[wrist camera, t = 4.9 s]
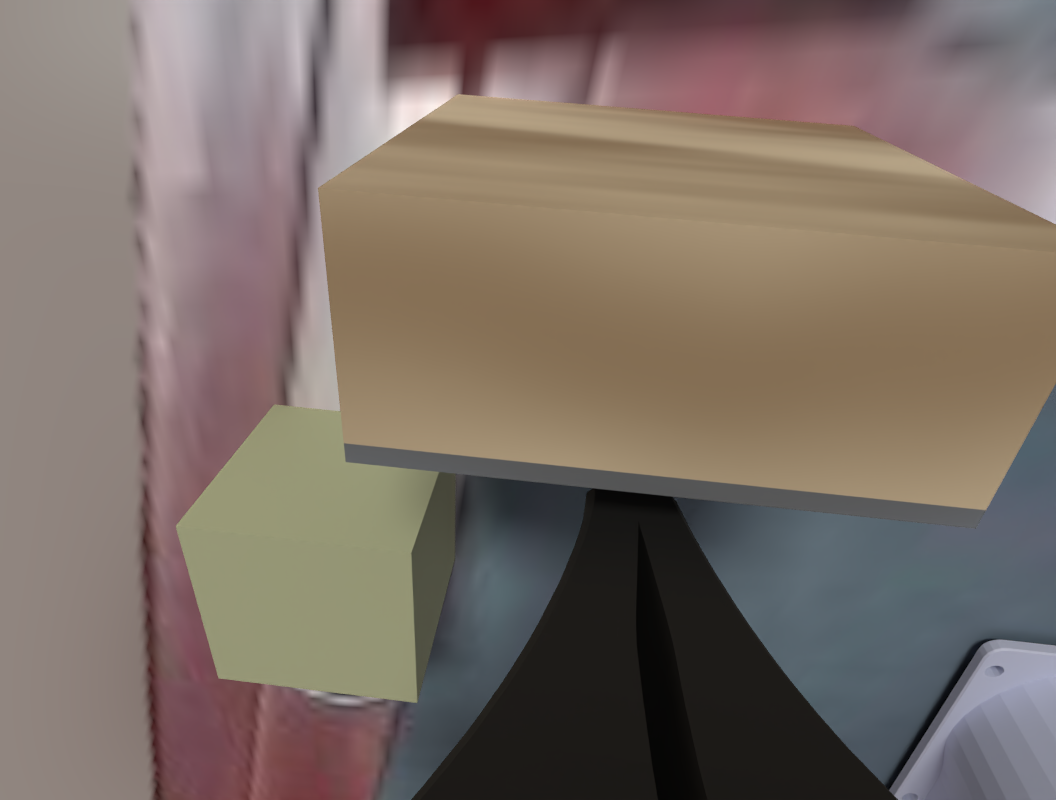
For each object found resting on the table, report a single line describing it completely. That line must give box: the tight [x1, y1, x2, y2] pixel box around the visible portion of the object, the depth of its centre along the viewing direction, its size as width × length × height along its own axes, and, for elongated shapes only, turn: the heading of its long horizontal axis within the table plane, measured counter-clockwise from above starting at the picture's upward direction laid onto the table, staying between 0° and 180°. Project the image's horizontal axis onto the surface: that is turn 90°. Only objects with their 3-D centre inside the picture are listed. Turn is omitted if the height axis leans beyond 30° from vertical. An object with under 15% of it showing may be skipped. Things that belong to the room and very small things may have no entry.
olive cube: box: [176, 405, 455, 703], centre depth 17 cm, size 5×5×5 cm
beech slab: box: [318, 94, 1056, 529], centre depth 11 cm, size 4×8×8 cm, turn 86°
